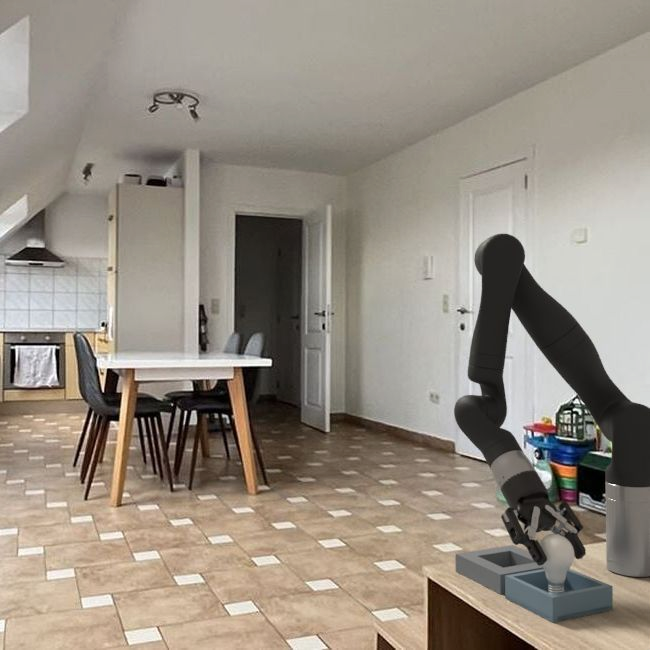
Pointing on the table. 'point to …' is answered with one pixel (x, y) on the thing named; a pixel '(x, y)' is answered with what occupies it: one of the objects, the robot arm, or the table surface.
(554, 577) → the lightbulb
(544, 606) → the parts tray
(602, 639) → the table surface
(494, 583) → the socket block
